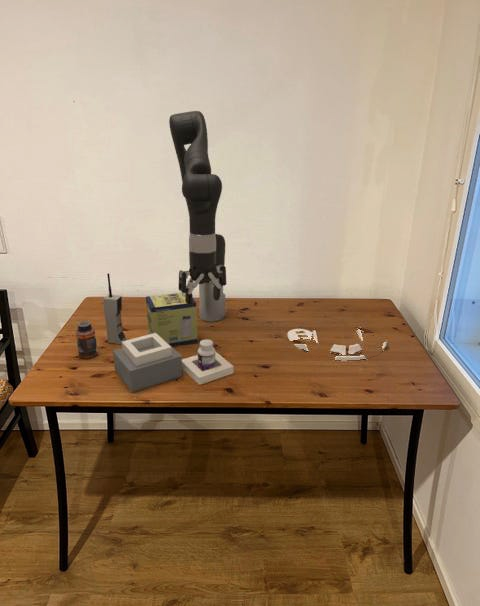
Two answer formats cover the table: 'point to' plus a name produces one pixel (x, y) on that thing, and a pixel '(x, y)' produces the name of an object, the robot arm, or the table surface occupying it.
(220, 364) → the collar
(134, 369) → the grey white square block
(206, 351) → the pill bottle
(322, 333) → the table surface
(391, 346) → the table surface
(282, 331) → the table surface
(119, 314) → the vintage mobile phone
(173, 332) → the protein box
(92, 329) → the supplement bottle
